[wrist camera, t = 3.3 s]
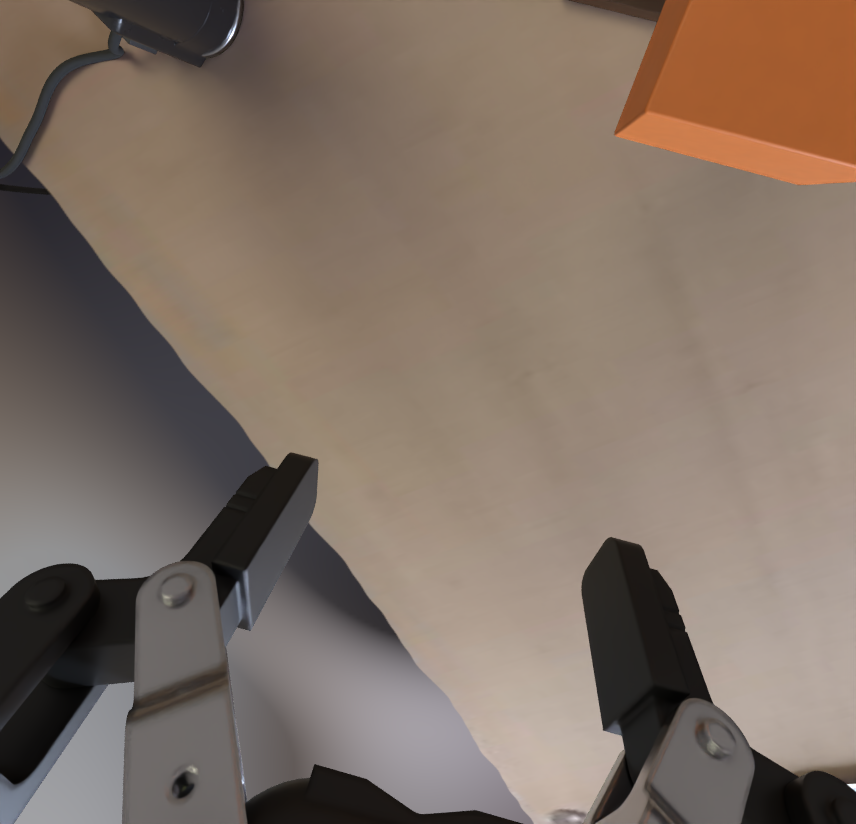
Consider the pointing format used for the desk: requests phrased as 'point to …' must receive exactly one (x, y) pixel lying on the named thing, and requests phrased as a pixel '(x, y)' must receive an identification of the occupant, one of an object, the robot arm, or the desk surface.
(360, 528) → the desk surface
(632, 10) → the walnut stand
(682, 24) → the orange box
